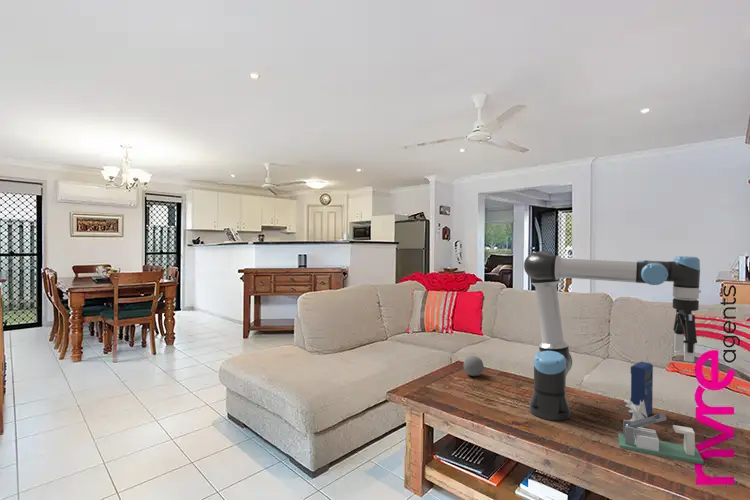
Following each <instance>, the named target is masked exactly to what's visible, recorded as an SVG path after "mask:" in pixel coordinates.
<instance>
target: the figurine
mask: <svg viewBox="0 0 750 500" xmlns="http://www.w3.org/2000/svg"><path fill="white" fill-rule="evenodd" d="M623 402H624V403H625V405H624V406H625V408H626V407H627V408H629V410H628V413H629V414H630V413H633V416H631V417H632V418H631V419H628V420H629V421H632V422H633V421H636V420H640V419H644V418H645V417H644V416H643V415H642V414H644V415H645V416H646V418H647V417H648V416H647V413H646V408H645V404H644V400H643V402H641V400H640V406H639V405H637V406H636V404H633V402H632V401H631V400H630V399H628V398H626V399H624V400H623ZM641 413H642V414H641ZM645 427H648V425H645V426H641V427H640V428H645Z"/></svg>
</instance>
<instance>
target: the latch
mask: <svg viewBox="0 0 750 500" xmlns="http://www.w3.org/2000/svg"><path fill="white" fill-rule="evenodd" d="M672 429H673V431H674V433H677V434H683V445H684V450H685V452H686V454H688V455H693V456H694V455H695V448H696V447H695V445H696V444H695V443H696V442H695V441H696V440H695V439H696V437H695V436H696V435H695V434H696V432H695V431H694V429H693V427H687V426H681V425H675V424H673V425H672Z"/></svg>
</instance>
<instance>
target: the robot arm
mask: <svg viewBox="0 0 750 500" xmlns="http://www.w3.org/2000/svg"><path fill="white" fill-rule="evenodd" d="M700 263H701V261H700V258H699V257H698V256H685V255H683V256H681V255H680V256H678V255H677V256H676V255H675V256H674V257H673V260H672V261H671V260H670V261H664V260H637V261H622V260H606V259H605V260H602V259H601V260H600V259H580V258H566V257H565V258H562V257H560V255H555V254H554V253H552V252H550V251H547V250H540V251H535V252H532V253H530V254H528V255H527V257H526V258H525V260H524V262H523V268H524V269H523V270H524V272H525V274H526V275H527V276H528V277H530V278H529V279H530V284H531V285H533V286H534V287H535V296H536V304H537V311H538V320H539V328H540V334H541V342H540V344H539V345H538V349H539V351H538V352H536V353H535V355H534V357H533V392H532V393H533V394H532V395H531V399H530V401H529V406H528V407H529V408H528V409H529V412H530V413H531V414H532V415H534V416H535V417H538V418H540V419H544V420H548V421H558V422H559V421H565V420H569V419H570V418H571V407H570V405H569V401H568V398H567V396H566V390H567V389H566V385H567V384H566V379H567V377H568V376H567V375H568V374H569V372H570V371H571V369H572V367H573V358H572V355H571V353H570V351H569V350H570V348H569V344H568V343H567V342H565V341H564V340H565V339H564V333H563V332H564V331H563V324H562V317H561V310H560V301H559V295H558V294H559V293H558V289H557V285H558V284H559V283H560V279H561V278H564V279H577V280H578V279H580V280H590V281H591V280H594V281H595V280H596V281H607V282H621V283H622V282H624V283H636V284H637V283H638V284H648V285H650V286H658V285H661V284H663V283H664V282H671V283H673V284H672V285H673V286H672V297H673V299H672V308H673V309H675V319H674V324H673V332H674V346H673V347H674V350H673V351H674V352H680V353H683V356H684V357H683V361H684V362H690V363H695V347H696V344H697V343H698V339H697V331H696V330H697V329H696V316H695V314H693V313H692V312H696V311H698V310H699V307H700V306H699V305H700V304H699V303H700V302H699V298H700V297H699V296H700V294H701V292H702V290H700V282H701V281H700V278H701V277H700V276H701V264H700Z"/></svg>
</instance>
